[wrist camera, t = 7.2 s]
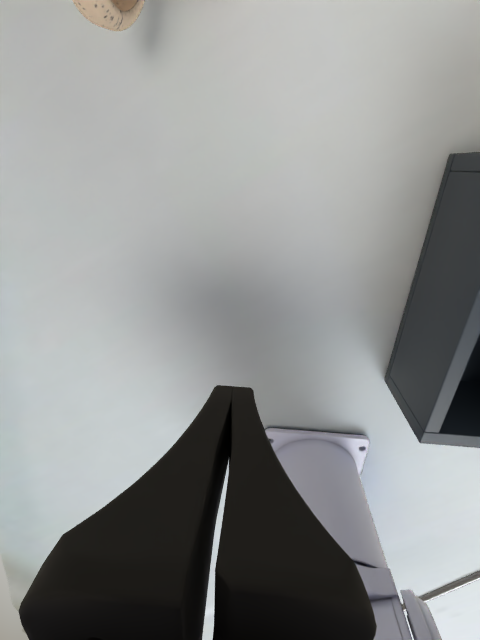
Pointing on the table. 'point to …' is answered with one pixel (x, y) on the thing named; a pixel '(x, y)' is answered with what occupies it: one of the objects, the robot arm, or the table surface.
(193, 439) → the robot arm
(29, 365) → the table surface
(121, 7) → the teacup with lid
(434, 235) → the bin
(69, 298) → the table surface
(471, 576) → the rod
